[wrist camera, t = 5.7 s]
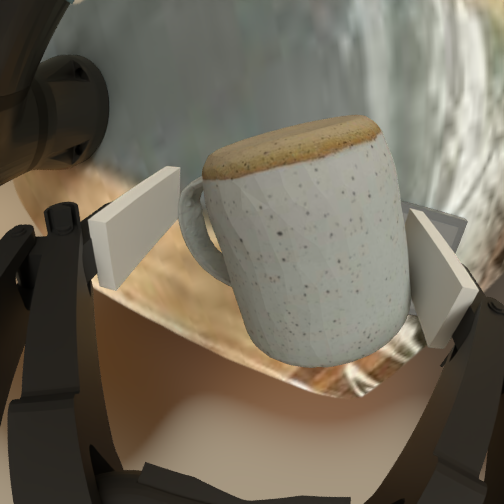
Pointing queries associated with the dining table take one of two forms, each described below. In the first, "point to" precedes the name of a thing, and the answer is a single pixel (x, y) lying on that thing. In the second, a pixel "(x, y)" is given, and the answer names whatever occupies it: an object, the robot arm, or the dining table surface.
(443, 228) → the trivet
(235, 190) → the ceramic mug
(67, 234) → the robot arm
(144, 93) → the dining table surface
